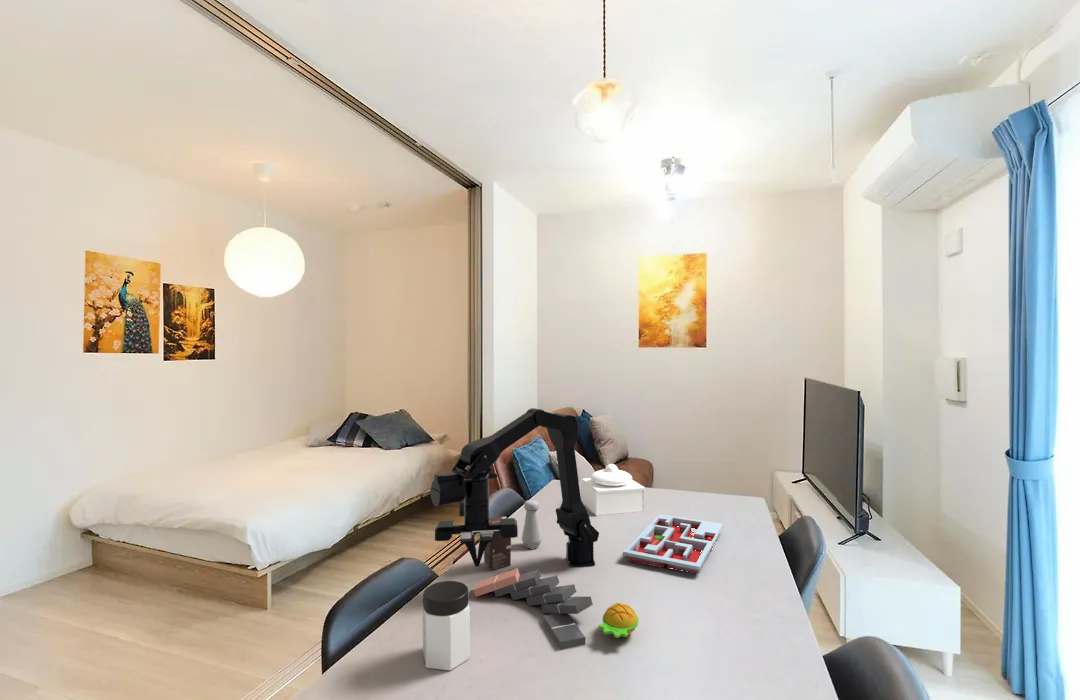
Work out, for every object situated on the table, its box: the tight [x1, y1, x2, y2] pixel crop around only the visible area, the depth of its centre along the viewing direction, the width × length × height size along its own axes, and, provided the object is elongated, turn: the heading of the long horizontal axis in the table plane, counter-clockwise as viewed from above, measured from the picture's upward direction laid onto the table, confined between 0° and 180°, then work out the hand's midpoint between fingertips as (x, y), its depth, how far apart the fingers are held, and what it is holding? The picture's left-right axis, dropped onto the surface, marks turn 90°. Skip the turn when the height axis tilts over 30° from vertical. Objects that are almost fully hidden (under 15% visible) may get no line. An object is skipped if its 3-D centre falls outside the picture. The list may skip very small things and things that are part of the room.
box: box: [483, 515, 512, 571], centre depth 129 cm, size 6×4×12 cm
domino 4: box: [525, 583, 577, 607], centre depth 108 cm, size 2×5×10 cm
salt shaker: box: [521, 499, 543, 550], centre depth 142 cm, size 6×6×13 cm
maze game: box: [622, 513, 724, 574], centre depth 141 cm, size 35×20×3 cm, turn 151°
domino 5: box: [540, 596, 594, 615], centre depth 104 cm, size 2×5×10 cm
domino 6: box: [543, 613, 586, 650], centre depth 97 cm, size 2×5×10 cm
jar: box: [422, 580, 471, 671], centre depth 90 cm, size 9×8×12 cm
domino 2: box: [493, 569, 542, 598], centre depth 113 cm, size 2×5×10 cm
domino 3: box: [509, 575, 560, 601], centre depth 111 cm, size 2×5×10 cm
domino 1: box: [473, 567, 521, 597], centre depth 113 cm, size 2×5×10 cm
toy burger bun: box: [598, 602, 640, 639], centre depth 96 cm, size 7×10×5 cm
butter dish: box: [580, 463, 646, 517], centre depth 178 cm, size 18×18×16 cm
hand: (477, 566), depth 114 cm, fingers closed
